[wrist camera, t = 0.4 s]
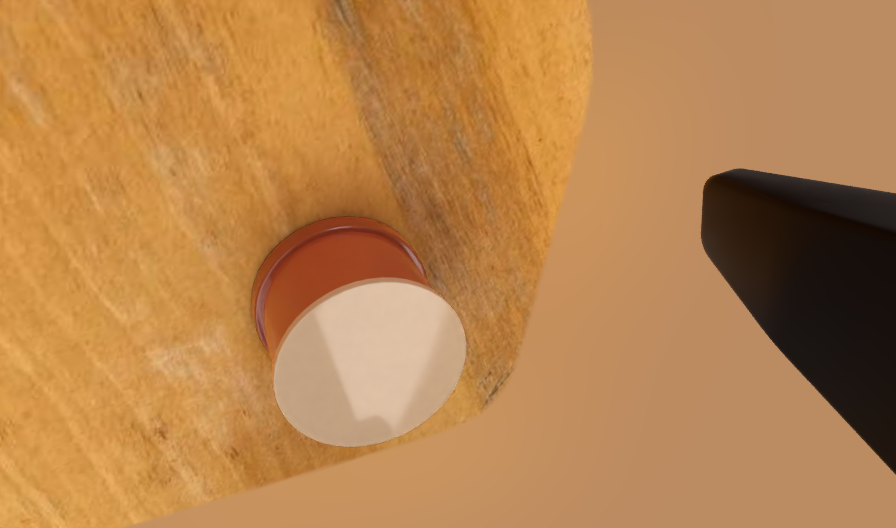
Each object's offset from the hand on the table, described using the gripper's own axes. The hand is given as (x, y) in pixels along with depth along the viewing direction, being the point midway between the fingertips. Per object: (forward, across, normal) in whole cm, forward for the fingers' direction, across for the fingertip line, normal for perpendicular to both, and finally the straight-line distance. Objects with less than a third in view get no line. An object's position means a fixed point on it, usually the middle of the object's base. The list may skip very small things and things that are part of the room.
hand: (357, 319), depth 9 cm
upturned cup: (+16, -2, +10) cm, 19 cm away
